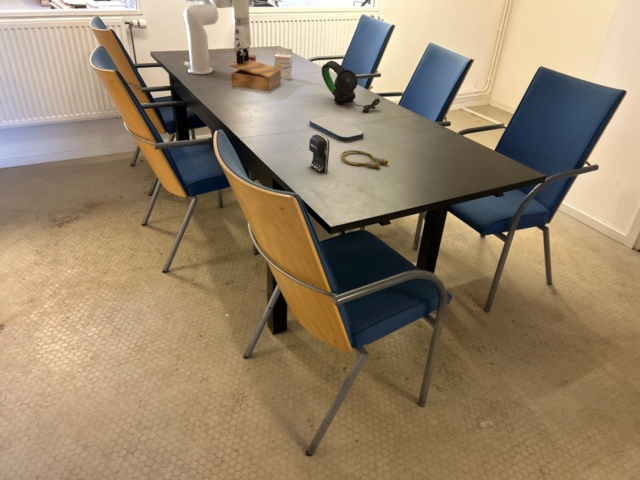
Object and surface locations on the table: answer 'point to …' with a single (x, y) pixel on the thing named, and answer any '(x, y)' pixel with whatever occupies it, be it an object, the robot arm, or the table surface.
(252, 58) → the tea tin
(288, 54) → the ink cartridge box
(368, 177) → the table surface
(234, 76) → the tea box
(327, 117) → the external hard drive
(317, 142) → the battery charger
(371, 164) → the extension cord
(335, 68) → the headset
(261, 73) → the tea box lid
